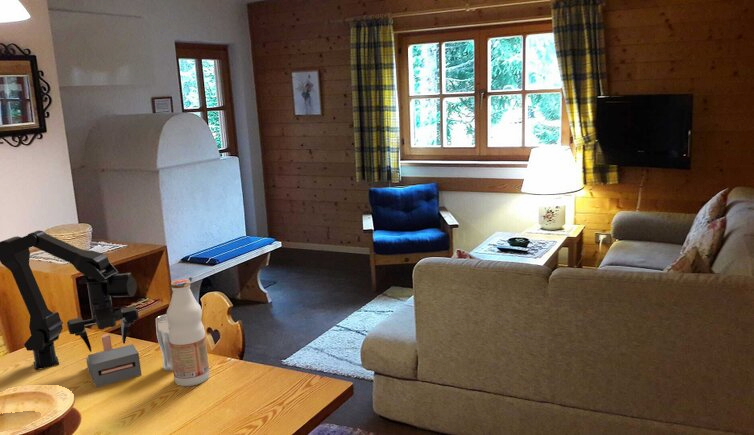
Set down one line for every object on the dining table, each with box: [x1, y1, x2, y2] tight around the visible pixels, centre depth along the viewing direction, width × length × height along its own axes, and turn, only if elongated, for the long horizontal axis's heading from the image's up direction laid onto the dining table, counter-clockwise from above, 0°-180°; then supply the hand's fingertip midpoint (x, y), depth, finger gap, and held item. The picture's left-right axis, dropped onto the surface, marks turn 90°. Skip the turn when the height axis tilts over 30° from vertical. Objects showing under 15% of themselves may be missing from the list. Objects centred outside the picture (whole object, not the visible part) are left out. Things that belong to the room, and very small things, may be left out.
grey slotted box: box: [85, 343, 142, 388], centre depth 178 cm, size 16×12×7 cm
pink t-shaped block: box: [100, 333, 133, 374], centre depth 177 cm, size 16×8×5 cm, turn 32°
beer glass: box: [155, 313, 173, 372], centre depth 178 cm, size 7×7×15 cm
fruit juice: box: [166, 278, 210, 387], centre depth 168 cm, size 9×9×28 cm
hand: (107, 347), depth 183 cm, fingers open, 9 cm apart
